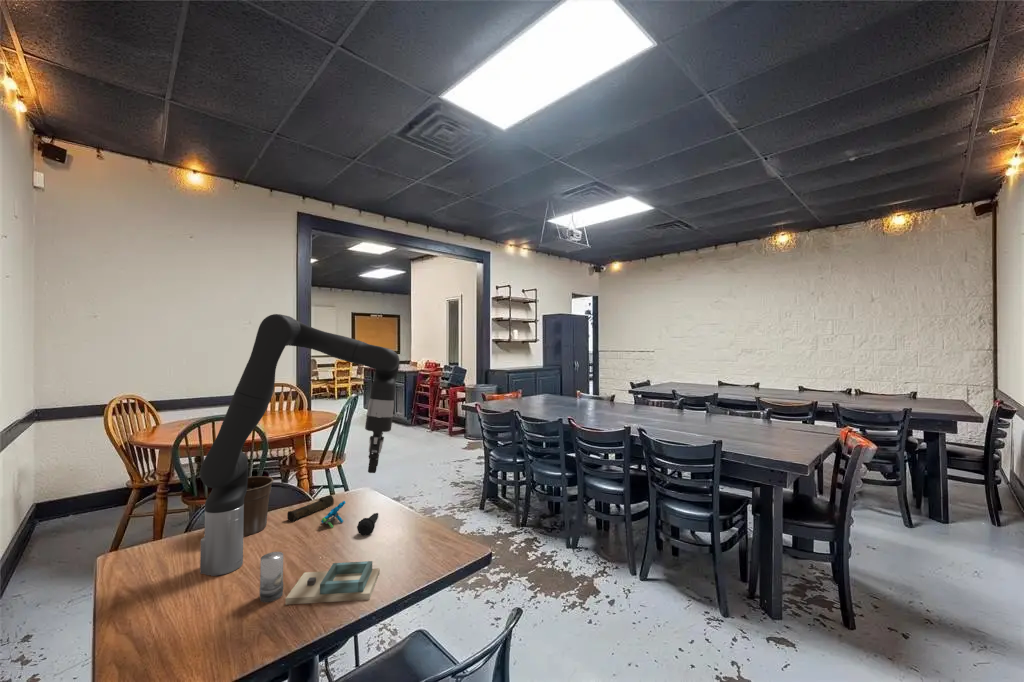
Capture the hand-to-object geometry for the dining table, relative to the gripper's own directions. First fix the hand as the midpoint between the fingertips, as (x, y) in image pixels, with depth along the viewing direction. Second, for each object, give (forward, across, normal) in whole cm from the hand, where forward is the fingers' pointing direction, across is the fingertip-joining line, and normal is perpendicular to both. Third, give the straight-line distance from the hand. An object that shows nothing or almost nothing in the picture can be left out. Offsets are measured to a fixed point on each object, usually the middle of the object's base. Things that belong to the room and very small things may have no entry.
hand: (372, 469), depth 124 cm
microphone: (+26, -27, +1) cm, 38 cm away
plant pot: (+30, -34, -41) cm, 61 cm away
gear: (+27, -33, -13) cm, 45 cm away
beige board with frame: (+28, +11, -5) cm, 31 cm away
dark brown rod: (+27, -46, -22) cm, 58 cm away
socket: (+30, +11, -20) cm, 38 cm away
